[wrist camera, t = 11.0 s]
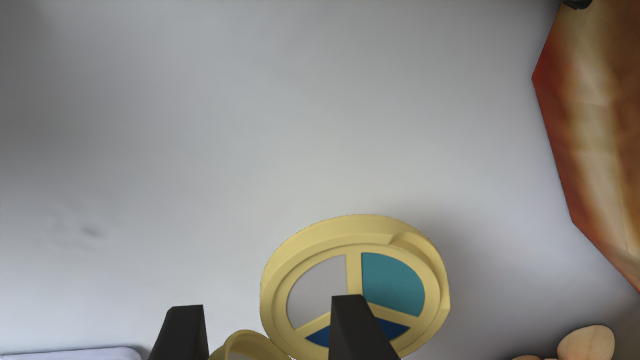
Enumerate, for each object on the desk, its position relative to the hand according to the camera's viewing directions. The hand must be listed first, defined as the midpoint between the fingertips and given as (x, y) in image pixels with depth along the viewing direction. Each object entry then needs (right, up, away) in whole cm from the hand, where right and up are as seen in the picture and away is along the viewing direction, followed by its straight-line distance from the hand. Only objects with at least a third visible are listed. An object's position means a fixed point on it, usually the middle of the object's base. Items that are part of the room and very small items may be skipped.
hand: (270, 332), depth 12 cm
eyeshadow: (+2, +1, +2) cm, 2 cm away
